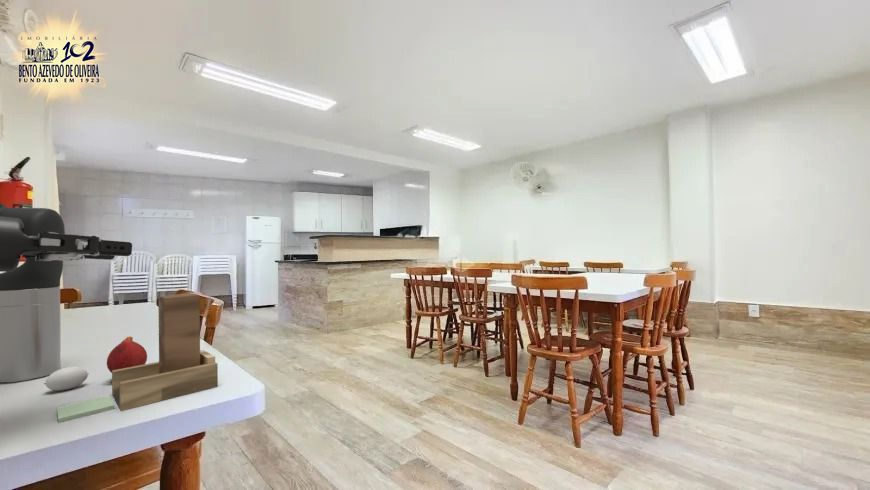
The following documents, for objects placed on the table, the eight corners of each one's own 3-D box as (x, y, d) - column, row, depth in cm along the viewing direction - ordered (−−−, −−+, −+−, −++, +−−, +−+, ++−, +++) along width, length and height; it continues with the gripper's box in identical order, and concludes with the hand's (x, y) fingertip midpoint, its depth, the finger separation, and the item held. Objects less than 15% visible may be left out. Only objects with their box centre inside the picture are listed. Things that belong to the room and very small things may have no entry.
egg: (93, 385, 67) (93, 364, 67) (47, 397, 62) (47, 374, 62) (85, 382, 69) (85, 361, 69) (39, 393, 64) (39, 370, 64)
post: (159, 376, 65) (158, 296, 65) (192, 369, 68) (191, 293, 69) (165, 382, 61) (164, 298, 62) (200, 374, 65) (199, 295, 65)
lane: (217, 386, 65) (217, 357, 65) (120, 410, 55) (120, 377, 55) (200, 374, 72) (200, 348, 72) (112, 394, 62) (111, 364, 62)
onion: (124, 385, 66) (123, 340, 66) (98, 384, 67) (98, 340, 68) (154, 374, 72) (154, 333, 72) (130, 373, 73) (130, 333, 73)
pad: (57, 410, 56) (57, 407, 56) (109, 398, 60) (109, 395, 60) (58, 422, 52) (58, 418, 52) (114, 408, 56) (114, 405, 56)
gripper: (-26, 205, 45) (139, 224, 58) (-36, 220, 53) (111, 233, 66) (-35, 267, 44) (135, 272, 57) (-44, 273, 52) (107, 275, 65)
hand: (122, 251), depth 61 cm, fingers open, 8 cm apart
